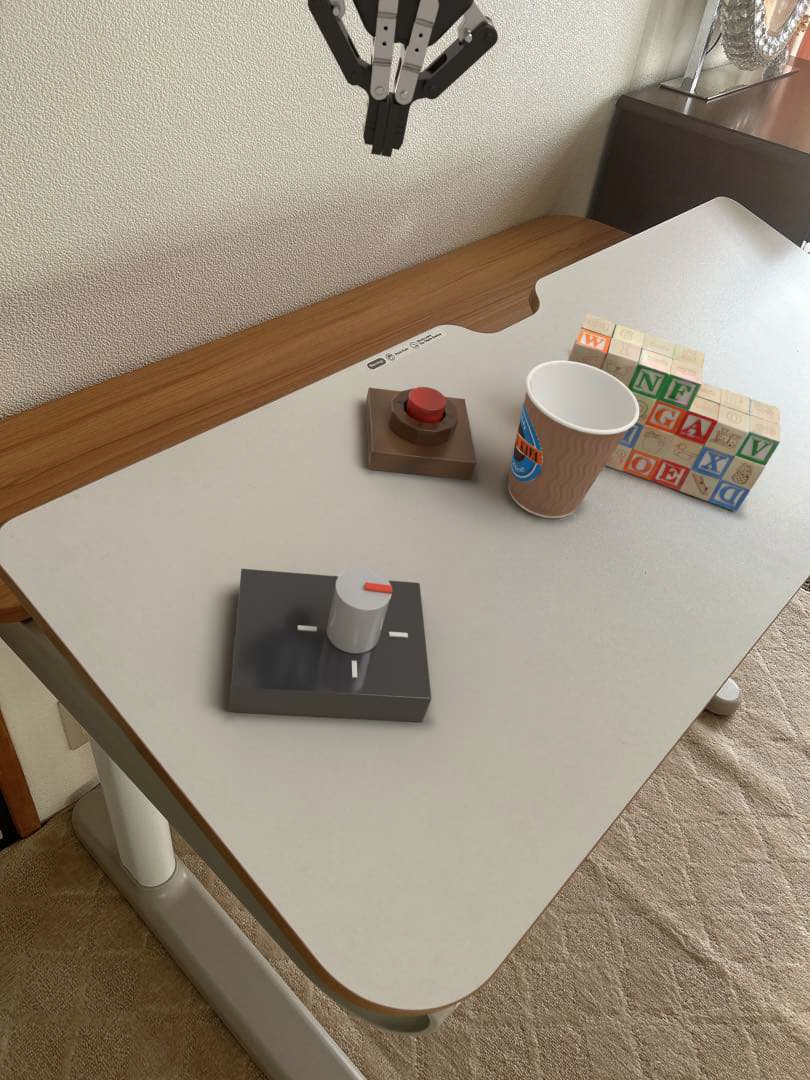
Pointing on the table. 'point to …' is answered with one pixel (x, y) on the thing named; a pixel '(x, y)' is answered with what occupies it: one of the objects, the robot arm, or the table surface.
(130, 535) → the table surface
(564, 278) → the table surface
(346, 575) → the stove knob
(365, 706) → the stove panel
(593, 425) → the coffee cup
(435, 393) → the button
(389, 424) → the button block
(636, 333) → the stack of blocks
